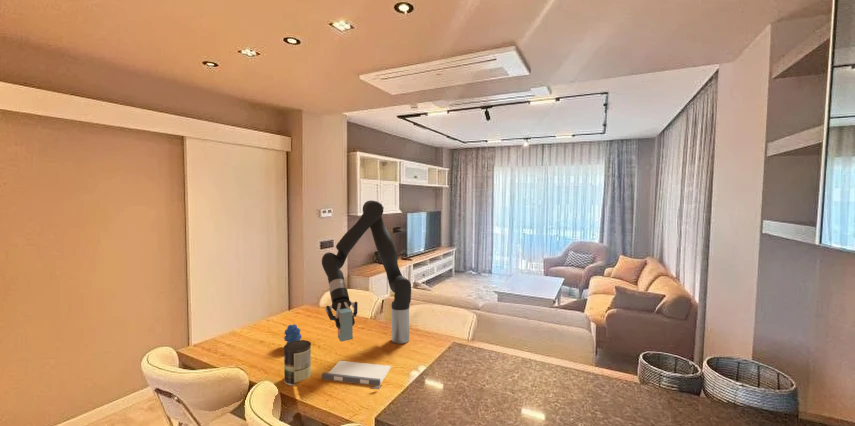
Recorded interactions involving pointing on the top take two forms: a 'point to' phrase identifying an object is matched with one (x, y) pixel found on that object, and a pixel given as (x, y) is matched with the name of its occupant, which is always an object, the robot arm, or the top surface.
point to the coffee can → (297, 361)
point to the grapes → (292, 333)
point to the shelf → (358, 373)
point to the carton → (345, 324)
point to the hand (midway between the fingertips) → (346, 326)
